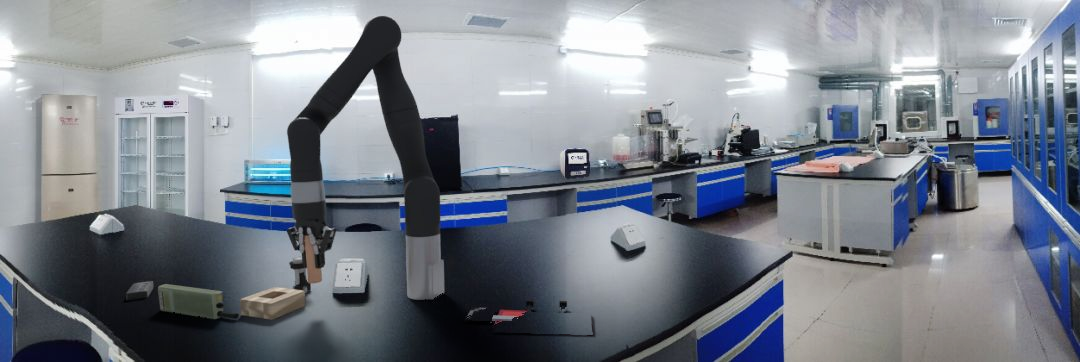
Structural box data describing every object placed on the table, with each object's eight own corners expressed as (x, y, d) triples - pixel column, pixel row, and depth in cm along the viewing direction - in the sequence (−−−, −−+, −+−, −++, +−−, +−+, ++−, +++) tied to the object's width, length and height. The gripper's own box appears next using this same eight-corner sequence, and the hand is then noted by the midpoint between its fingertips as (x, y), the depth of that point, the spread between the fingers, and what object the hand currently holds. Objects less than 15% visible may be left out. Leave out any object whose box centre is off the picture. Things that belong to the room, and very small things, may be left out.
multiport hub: (126, 302, 124) (125, 293, 124) (134, 290, 134) (133, 283, 133) (147, 298, 127) (146, 290, 127) (153, 288, 136) (153, 280, 136)
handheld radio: (171, 307, 120) (243, 318, 112) (158, 312, 117) (231, 324, 109) (168, 282, 119) (241, 292, 111) (154, 287, 116) (228, 297, 108)
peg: (325, 279, 117) (321, 233, 116) (315, 283, 114) (311, 236, 113) (315, 279, 118) (311, 233, 117) (305, 283, 115) (301, 235, 114)
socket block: (305, 305, 120) (304, 290, 120) (272, 319, 111) (271, 303, 110) (275, 301, 123) (275, 286, 123) (241, 314, 114) (240, 299, 114)
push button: (300, 298, 126) (298, 262, 125) (283, 297, 127) (281, 261, 126) (316, 290, 132) (314, 256, 132) (299, 289, 133) (297, 255, 132)
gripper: (342, 197, 115) (347, 265, 117) (298, 197, 120) (303, 261, 121) (320, 202, 108) (325, 273, 110) (273, 201, 113) (279, 269, 114)
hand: (314, 267), depth 116 cm, fingers closed on peg, 3 cm apart
